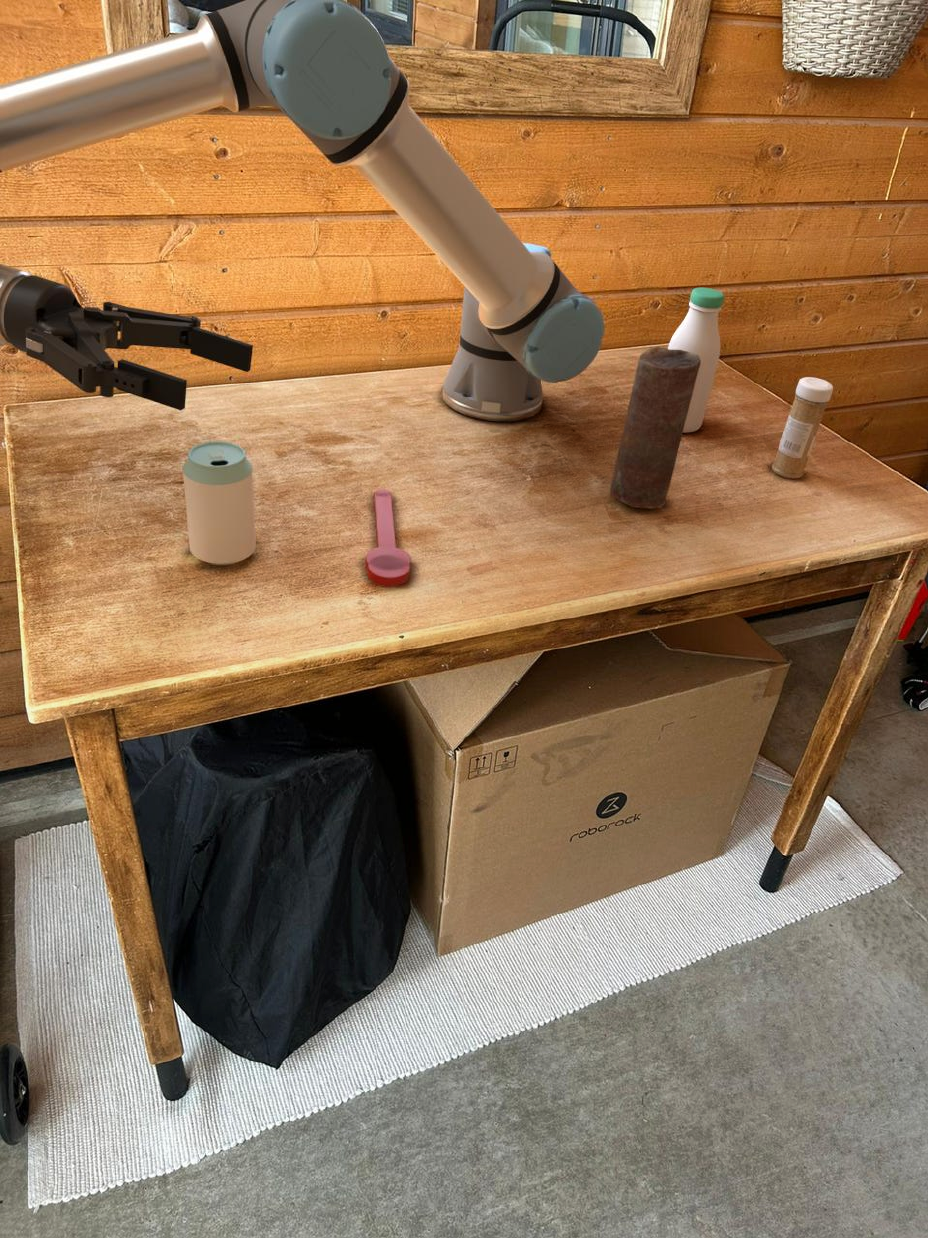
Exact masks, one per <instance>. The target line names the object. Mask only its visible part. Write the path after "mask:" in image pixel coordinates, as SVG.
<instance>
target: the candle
mask: <svg viewBox="0 0 928 1238" xmlns="http://www.w3.org/2000/svg"><path fill="white" fill-rule="evenodd" d="M700 363H701V360H700V358H699V356H698V355H697V354H694V353H689V352H687V351H683V350H673V349H672V350H669V349H668V347H665V346H654V347H648V348H647V349H645V350H644V351H643V352H642V353H641V354H640V355H639V358H638V361H637V366H636V371H635V376H634V380H633V384H632V389H631V394H630V399H629V403H628V406H627V412H626V417H625V420H624V425H623V429H622V432H621V433H622V434H621V438H620V443H619V447H618V450H617V455H616V459H615V465H614V469H613V473H612V477H611V482H610V487H609V493H610V496H612V498H613V499H615V500H617V501H620V502H622V503H623V504H626V505H627V506H629V507H632V508H637V509H638V508H640V509H650V510H652V509H656V508H658V509H661V508H662V507H663V506H664V505H665V504H666V502H667V497H668V494H669V490H670V486H671V482H672V478H673V473H674V470H675V465H676V461H677V458H678V453H679V449H680V445H681V443H682V442H681V441H682V437H683V433H684V432H683V429H684V425H685V421H686V417H687V414H688V410H689V405H690V401H691V398H692V394H693V390H694V386H695V382H696V378H697V374H698V370H699V367H700Z"/></svg>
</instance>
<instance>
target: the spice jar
mask: <svg viewBox="0 0 928 1238" xmlns="http://www.w3.org/2000/svg"><path fill="white" fill-rule="evenodd" d="M833 391H834V386H833V384H832V383H831V382H829V381H827V380H825V379H823V378H819V377H818V378H817V377H813V376H806V377H802V378H800V379H799V381H798V383H797V386H796V389H795V396H794V399H793V402H792V406H791V408H790V412H789V414H788V416H787V419H786V422H785V426H784V428H783V431H782V435H781V438H780V441H779V444H778V449H777V452H776V455H775V458H774V462H773V463H772V465H771V469H772V471H773V472H774V473H775V474H777V475H778V476H780V477H783V478H787V479H800V478H802V477H803V476H804V474H805V469H806V466H807V464H808V463H807V462H808V460H809V457H810V456H811V453H812V451H813V447H814V444H815V441H816V439H817V434H818V432H819V428H820V426H821V422H822V419H823V416H824V414H825V410H826V408H827V405H828V403H829V401H830V400H831V397H832V394H833Z"/></svg>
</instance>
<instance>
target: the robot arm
mask: <svg viewBox="0 0 928 1238" xmlns="http://www.w3.org/2000/svg"><path fill="white" fill-rule="evenodd" d="M410 89H411V87H410V82H409V80H408V79H407V77H406V76H405V75H404V74H403V72H402V71H401V70H400V69H399V67H398V66H397V64H396V63H395V62H394V60H393V59H392V58H391V57H390V55H389V52H388V49H387V45H386V43H385V42H384V40H383V38H382V36H381V34H380V33H379V31H378V29H377V28H376V26H375V25H374V23H373V22H372V21H371V20H370V19H369V17H367V16H366V15H365V13H363V12H362V11H361V10H359V8H358V7H356V6H355V5H353V4H352V3H350V2H347V1H346V0H242V1H240V2H237V3H234V4H232V5H229V6H226V7H224V8H221V9H217V10H215V11H211V12H208V13H204V14H201V16H200V18H199V20H198V23H197V26H195V28H194V29H191V30H190V29H189V30H187V31H184V32H180V33H177V34H173V35H170V36H166V37H163V38H160V39H156V40H152V41H149V42H146V43H142V44H139V45H135V46H132V47H127V48H125V49H122V50H121V49H120V50H118V51H115V52H110V53H108V54H104V55H101V56H96V57H94V58H90V59H86V60H84V61H80V62H77V63H73V64H69V65H66V66H62V67H59V68H55V69H52V70H49V71H45V72H41V73H38V74H35V75H31V76H28V77H24V78H21V79H17V80H14V81H11V82H8V83H3V84H0V174H1V173H3V172H6V171H10V170H14V169H17V168H19V167H23V166H27V165H30V164H33V163H36V162H40V161H43V160H47V159H51V158H53V157H56V156H60V155H63V154H66V153H70V152H73V151H76V150H80V149H83V148H86V147H90V146H93V145H96V144H99V143H103V142H107V141H109V140H113V139H116V138H120V137H122V136H126V135H130V134H133V133H136V132H139V131H144V130H147V129H149V128H153V127H156V126H159V125H163V124H166V123H169V122H173V121H175V120H179V119H183V118H186V117H190V116H192V115H195V114H196V115H197V114H200V113H203V112H206V111H209V110H212V109H215V108H219V107H223V108H226V109H227V110H229V111H230V112H232V113H234V114H236V113H240V112H242V111H244V110H248V109H252V108H253V109H254V108H261V107H277V108H278V109H279V110H280V111H281V112H282V113H283V114H284V115H285V116H286V117H287V118H288V119H289V120H290V121H291V122H292V123H293V124H294V125H295V127H297V128H298V129H299V130H300V131H301V132H302V133H303V134H304V135H305V136H306V138H307V139H308V140H309V141H310V142H311V143H312V144H313V145H314V146H315V147H316V148H317V149H318V150H319V151H320V153H321V154H322V155H324V157H325V158H326V159H327V160H328V161H329V162H330V163H331V164H332V165H334V166H335V167H346V166H349V167H350V166H352V167H354V168H355V169H356V170H357V171H358V172H359V173H360V174H361V176H362V177H363V178H364V179H366V181H367V182H368V183H369V184H370V185H371V187H373V189H375V191H376V192H377V193H378V194H379V195H380V196H381V197H382V198H383V199H384V200H385V202H387V204H388V205H389V206H390V207H391V208H392V209H393V210H394V211H395V212H396V213H397V214H398V216H399V217H400V218H401V219H402V220H403V221H404V222H405V223H406V224H407V226H408V227H409V228H410V229H411V230H412V231H413V232H414V233H415V234H416V235H417V236H418V237H419V239H420V240H421V241H422V242H423V243H424V244H425V245H426V246H427V248H429V249H430V250H431V251H432V253H433V254H434V255H435V256H436V257H437V258H438V259H439V260H440V261H441V263H442V264H443V265H445V267H446V268H447V269H448V270H449V271H450V272H451V273H452V274H453V275H454V276H455V277H456V279H457V280H458V281H459V282H460V283H461V284H462V285H463V287H464V288H463V298H462V299H463V300H462V310H461V311H462V312H461V323H460V335H459V343H458V349H457V351H456V353H455V355H454V358H453V360H452V362H451V365H450V368H449V370H448V372H447V374H446V377H445V379H444V383H443V386H442V400H443V401H444V402H445V404H446V405H447V406H448V407H449V408H450V409H452V410H454V411H455V412H457V413H460V414H462V415H465V416H468V417H471V418H474V419H479V420H484V421H490V422H491V421H492V422H515V421H522V420H526V419H530V418H531V417H534V416H535V415H538V413H539V412H540V411H541V409H542V405H543V398H544V393H543V392H544V391H543V386H542V382H545V383H549V384H558V383H561V382H568V381H570V380H572V379H574V378H575V377H578V376H579V375H580V374H582V373H583V372H584V371H585V370H586V369H588V367H589V366H590V365H591V364H592V363H593V361H594V360H595V359H596V357H597V355H598V353H599V351H600V349H601V347H602V345H603V338H604V335H605V331H606V330H605V329H606V328H605V318H604V316H603V313H602V311H601V309H600V308H599V306H598V305H597V304H596V302H595V301H594V300H593V299H592V298H591V297H589V296H587V295H585V294H582V292H580V291H579V290H578V289H577V288H576V287H575V285H574V284H573V283H572V282H571V281H570V280H569V278H568V277H567V275H565V273H564V272H563V271H562V270H561V269H560V267H559V266H558V265H557V263H555V261H554V260H553V258H552V252H551V250H550V249H549V248H547V247H545V246H542V245H538V244H534V243H533V244H532V243H527V242H526V243H525V242H522V241H521V239H520V238H519V237H518V235H516V233H515V232H514V231H513V230H512V229H511V227H510V226H509V225H508V224H507V223H506V221H505V220H504V219H503V217H501V215H500V214H499V213H498V211H497V210H496V209H495V208H494V207H493V205H492V204H491V203H490V202H489V200H488V199H487V198H486V197H485V195H484V194H483V193H482V192H481V191H480V189H479V188H478V187H477V186H476V185H475V183H474V182H473V181H472V180H471V179H470V178H469V176H468V175H467V174H466V172H464V170H463V169H462V167H460V165H459V164H458V163H457V162H456V160H455V159H454V158H453V156H452V155H451V154H450V153H449V152H448V151H447V150H446V148H445V147H444V146H443V144H442V143H441V142H440V141H439V140H438V138H437V137H436V136H435V135H434V134H433V132H432V131H431V130H430V128H428V126H427V125H426V124H425V122H423V120H422V119H421V118H420V117H419V115H418V114H417V113H416V111H414V109H413V108H412V107H411V106H410ZM78 300H79V299H77V296H76V295H75V293H74V292H73V290H72V289H71V288H70V287H69V286H67V285H65V284H63V283H61V282H58V281H54V280H51V279H48V278H45V277H42V276H38V275H33V274H31V273H30V272H28V271H25V270H23V269H18V268H15V267H13V266H9V265H6V264H3V263H0V347H4V346H7V347H10V348H15V349H16V350H17V351H20V352H23V353H26V356H28V357H29V358H33V359H35V360H37V361H40V362H42V363H44V364H45V365H47V366H48V367H50V368H51V369H52V370H53V371H55V372H56V373H58V374H59V375H60V376H62V377H63V378H64V379H65V380H67V381H69V383H71V384H72V385H74V386H75V387H77V388H78V389H79V390H81V391H82V392H84V393H88V394H94V393H96V392H97V388H98V387H99V395H100V397H103V398H112V397H114V396H115V395H114V394H115V388H116V390H118V391H121V392H124V393H127V394H130V395H133V396H136V397H139V398H142V399H144V400H148V401H151V402H154V403H157V404H160V405H163V406H166V407H169V408H172V409H175V410H179V411H183V410H184V409H186V399H187V385H188V380H187V379H183V378H181V377H178V376H174V375H172V374H169V373H166V372H163V371H160V370H157V369H154V368H151V367H148V366H144V365H141V364H138V363H135V362H132V361H129V360H126V359H123V358H122V359H119V360H117V366H115V360H113V359H112V358H111V356H110V355H109V354H108V352H107V351H106V350H108V349H112V350H113V349H114V350H115V349H116V350H128V349H129V348H130V347H131V346H137V347H153V348H165V349H166V348H167V349H180V350H190V352H189V353H190V355H193V356H196V357H200V358H203V359H205V360H208V361H212V362H214V363H216V364H217V363H218V364H221V365H223V366H227V367H230V368H232V369H236V370H239V371H242V372H245V373H248V372H250V371H251V369H252V368H251V367H252V360H253V359H252V357H253V349H254V345H253V344H250V343H247V342H245V341H241V340H238V339H235V338H232V337H228V336H226V335H223V334H219V333H217V332H213V331H210V330H207V329H203V328H201V324H202V320H201V319H200V318H198V317H197V316H194V315H191V316H185V315H179V314H174V313H167V312H160V311H155V310H149V309H143V308H136V307H131V306H126V305H122V304H118V303H115V302H111V301H103V303H102V309H101V308H99V307H94V306H93V307H92V306H85V307H83V306H82V305H81V303H80V302H79V301H78ZM119 333H120V334H119Z"/></svg>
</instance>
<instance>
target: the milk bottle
mask: <svg viewBox="0 0 928 1238" xmlns="http://www.w3.org/2000/svg"><path fill="white" fill-rule="evenodd" d="M724 301H725V294H724V292H722V291H720V290H717V289H715V288H710V287H695V288H693V289H692V291H691V293H690V298H689V303H688V305H689V309H688V312H687V314H686V316H685V318H684V319H683V321H682V322H681V324H680V325H679V326H678V327H677V328H676V330H675V332H674V333H673V334H672V337H671V338H670V341H669V344H668V346H667V349H669V350H672V349H673V350H683V351H687V352H689V353H694V354H697V355H698V356H699V358H700V360H701V363H700V367H699V370H698V374H697V378H696V382H695V386H694V390H693V394H692V398H691V401H690V405H689V410H688V414H687V417H686V421H685V425H684V429H683V433H694V432H696V431H698V430H699V429H700V428H701V427H702V425H703V421H704V418H705V414H706V411H707V407H708V404H709V399H710V396H711V392H712V390H713V389H712V388H713V384H714V381H715V378H716V373H717V369H718V365H719V360H720V357H721V346H722V345H721V336H720V332H719V313H720V312H721V311H722V306H723V304H724Z"/></svg>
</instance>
